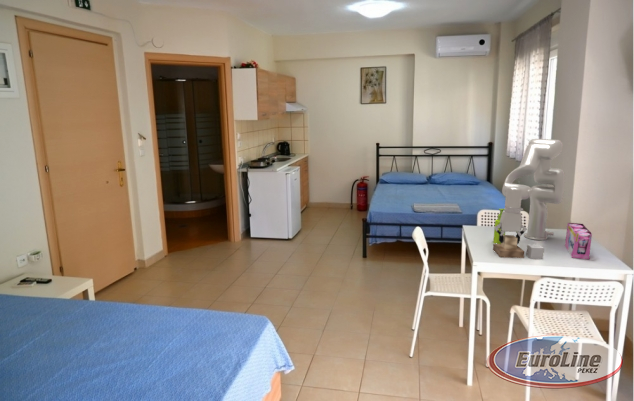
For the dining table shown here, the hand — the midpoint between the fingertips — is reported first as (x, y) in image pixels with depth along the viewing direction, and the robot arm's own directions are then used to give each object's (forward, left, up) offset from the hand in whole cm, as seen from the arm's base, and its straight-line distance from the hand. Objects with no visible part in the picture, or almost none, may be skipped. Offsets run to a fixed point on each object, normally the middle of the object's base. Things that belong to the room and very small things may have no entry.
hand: (509, 242), depth 232 cm
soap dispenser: (-2, -20, -7) cm, 21 cm away
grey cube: (-12, +4, -6) cm, 14 cm away
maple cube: (0, 0, -3) cm, 3 cm away
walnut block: (0, 0, -7) cm, 7 cm away
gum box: (-38, -7, -7) cm, 39 cm away
